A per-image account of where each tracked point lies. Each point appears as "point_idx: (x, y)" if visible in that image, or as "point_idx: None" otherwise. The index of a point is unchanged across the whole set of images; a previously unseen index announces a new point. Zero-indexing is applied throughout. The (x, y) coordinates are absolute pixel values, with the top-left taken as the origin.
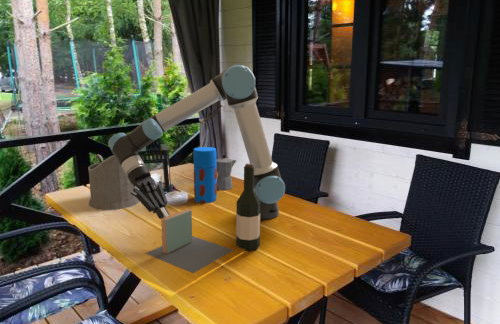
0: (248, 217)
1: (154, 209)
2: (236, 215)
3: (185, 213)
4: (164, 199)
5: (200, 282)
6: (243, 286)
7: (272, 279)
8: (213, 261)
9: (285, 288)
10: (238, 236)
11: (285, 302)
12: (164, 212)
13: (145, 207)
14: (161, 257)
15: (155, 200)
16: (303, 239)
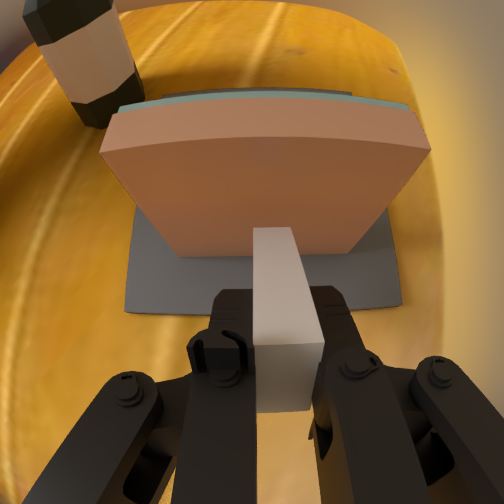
0: (113, 2)
1: (397, 374)
2: (88, 32)
3: (193, 97)
4: (112, 450)
5: (353, 76)
6: (294, 32)
7: (236, 21)
8: (263, 87)
9: (249, 9)
10: (124, 77)
11: (283, 3)
12: (291, 287)
13: (450, 466)
14: (376, 220)
15: (353, 495)
16: (51, 78)
